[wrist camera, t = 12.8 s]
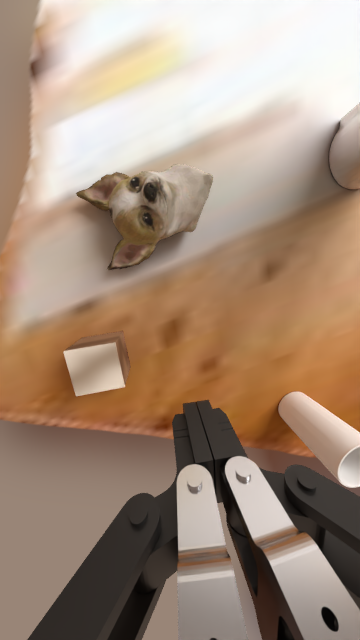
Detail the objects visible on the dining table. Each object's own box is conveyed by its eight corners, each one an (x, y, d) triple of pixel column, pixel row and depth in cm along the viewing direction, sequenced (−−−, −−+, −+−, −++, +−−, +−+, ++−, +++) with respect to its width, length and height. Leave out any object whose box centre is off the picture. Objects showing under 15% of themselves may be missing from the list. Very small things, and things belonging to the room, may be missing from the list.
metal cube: (114, 343, 22) (123, 330, 28) (63, 351, 22) (82, 337, 28) (124, 387, 24) (130, 366, 30) (75, 396, 23) (91, 373, 29)
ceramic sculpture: (231, 224, 19) (93, 272, 19) (211, 241, 27) (115, 275, 27) (200, 101, 17) (42, 155, 17) (189, 162, 25) (84, 198, 25)
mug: (269, 413, 35) (327, 478, 23) (290, 384, 34) (360, 436, 23) (307, 432, 37) (377, 500, 25) (326, 405, 36) (408, 462, 25)
